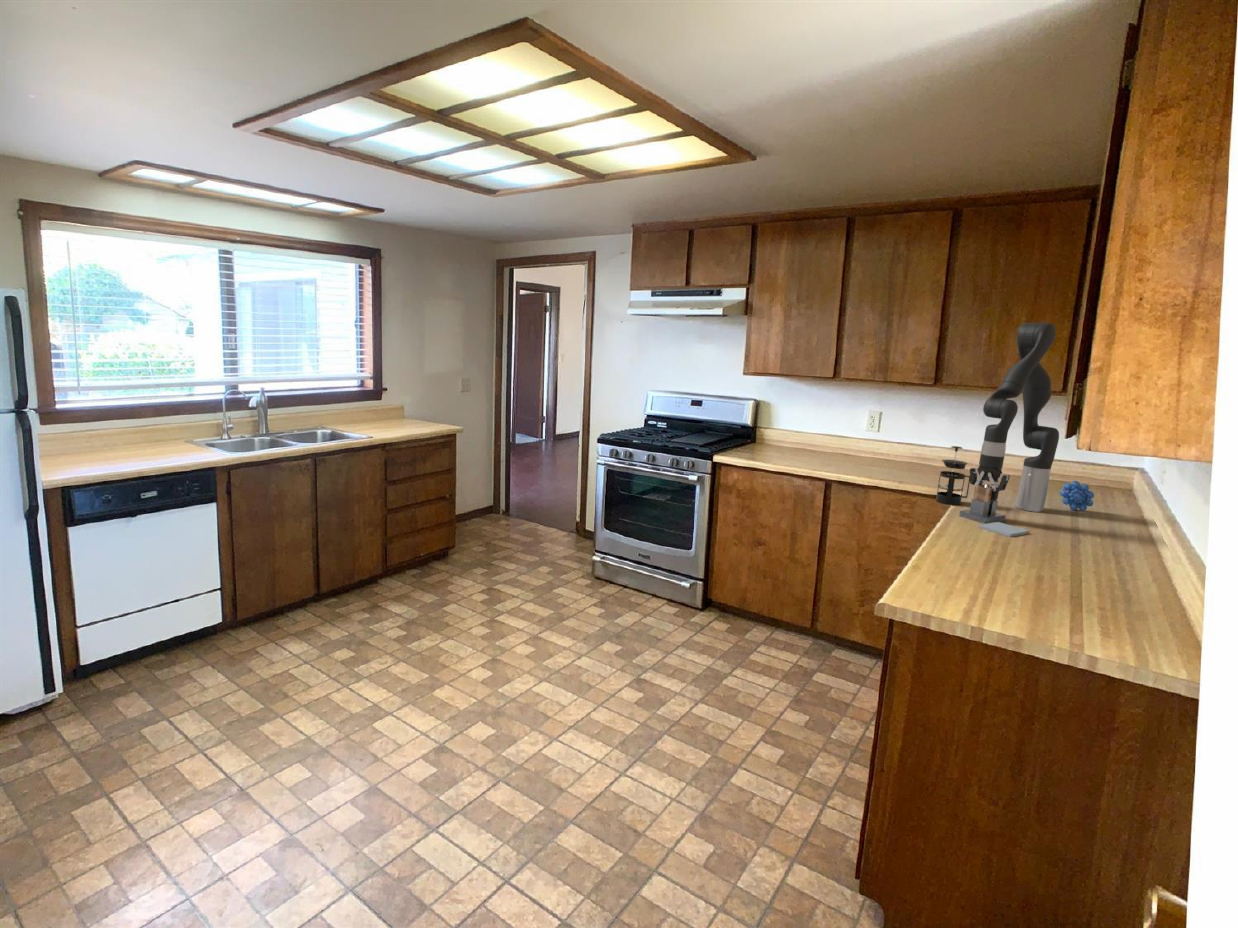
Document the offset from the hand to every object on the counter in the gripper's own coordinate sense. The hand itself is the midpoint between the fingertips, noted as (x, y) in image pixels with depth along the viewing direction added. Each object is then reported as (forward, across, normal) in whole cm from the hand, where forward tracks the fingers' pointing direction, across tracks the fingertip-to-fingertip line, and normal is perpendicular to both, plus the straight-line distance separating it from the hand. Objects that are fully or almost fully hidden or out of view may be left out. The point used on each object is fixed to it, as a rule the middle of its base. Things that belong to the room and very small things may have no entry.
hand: (985, 498), depth 235 cm
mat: (+7, -13, +8) cm, 17 cm away
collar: (0, 0, 0) cm, 0 cm away
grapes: (+8, -6, -51) cm, 52 cm away
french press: (+8, +20, -10) cm, 24 cm away
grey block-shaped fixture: (+7, 0, 0) cm, 7 cm away
